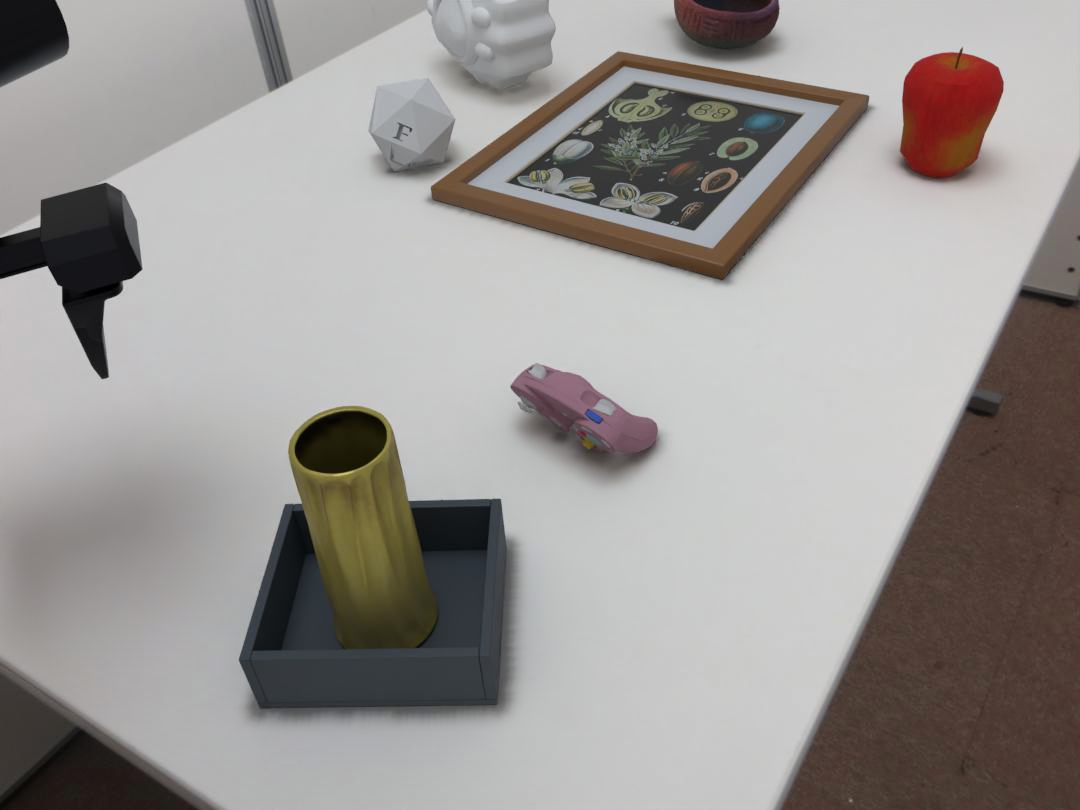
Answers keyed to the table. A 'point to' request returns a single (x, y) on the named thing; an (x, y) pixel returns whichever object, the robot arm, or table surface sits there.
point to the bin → (395, 673)
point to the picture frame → (658, 159)
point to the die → (411, 124)
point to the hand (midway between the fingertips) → (22, 399)
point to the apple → (948, 111)
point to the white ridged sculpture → (495, 37)
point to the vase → (363, 529)
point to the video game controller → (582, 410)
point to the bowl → (726, 21)
